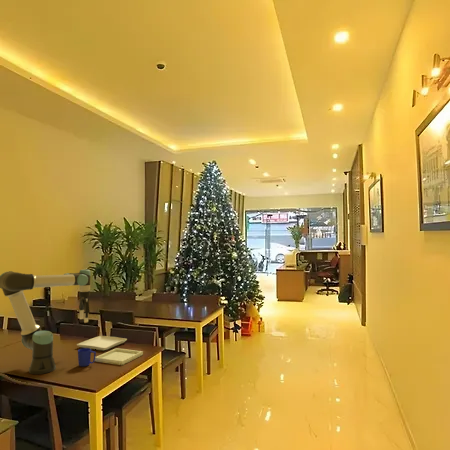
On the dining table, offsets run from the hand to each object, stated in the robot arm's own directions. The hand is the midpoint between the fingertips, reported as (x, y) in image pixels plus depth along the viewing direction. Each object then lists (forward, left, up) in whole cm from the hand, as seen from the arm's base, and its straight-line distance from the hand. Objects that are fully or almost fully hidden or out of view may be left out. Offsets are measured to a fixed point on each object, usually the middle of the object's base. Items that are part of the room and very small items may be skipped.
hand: (83, 320), depth 267 cm
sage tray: (+1, -31, -24) cm, 39 cm away
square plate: (+22, +1, -24) cm, 33 cm away
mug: (-19, -21, -24) cm, 37 cm away
